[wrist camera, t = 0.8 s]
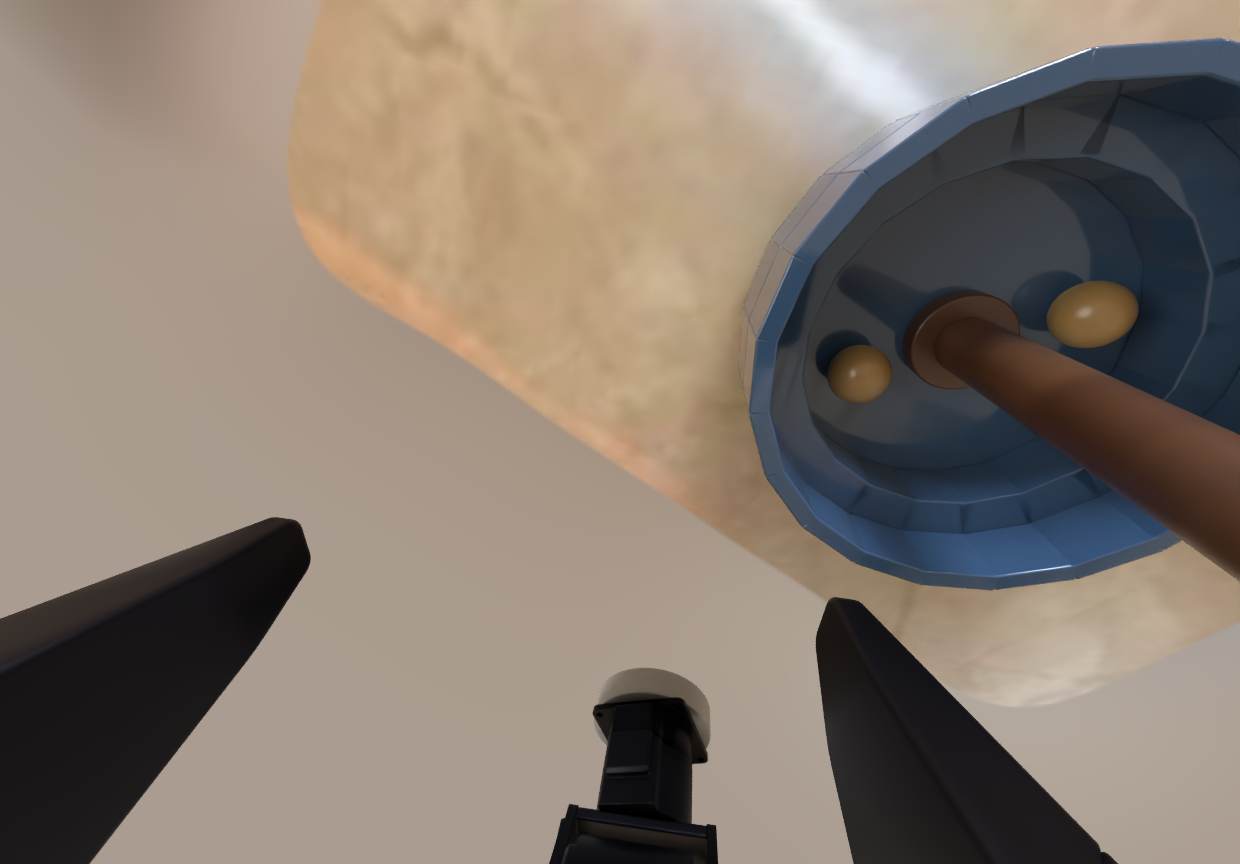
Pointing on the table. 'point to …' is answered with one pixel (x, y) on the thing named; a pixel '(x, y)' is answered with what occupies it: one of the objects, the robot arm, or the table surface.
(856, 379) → the chickpea
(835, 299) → the bowl
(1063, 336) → the chickpea
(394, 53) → the table surface
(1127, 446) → the pestle
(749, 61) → the table surface
